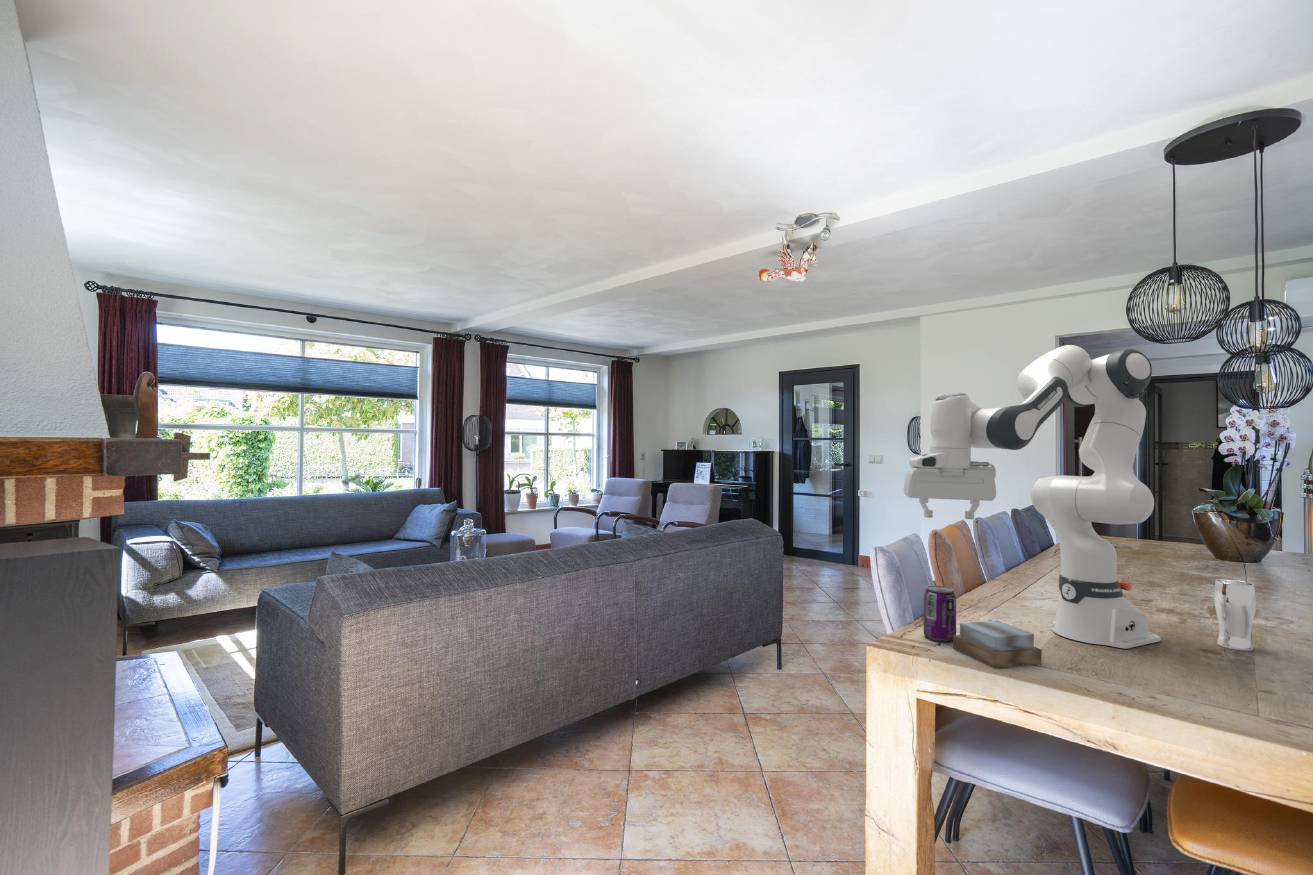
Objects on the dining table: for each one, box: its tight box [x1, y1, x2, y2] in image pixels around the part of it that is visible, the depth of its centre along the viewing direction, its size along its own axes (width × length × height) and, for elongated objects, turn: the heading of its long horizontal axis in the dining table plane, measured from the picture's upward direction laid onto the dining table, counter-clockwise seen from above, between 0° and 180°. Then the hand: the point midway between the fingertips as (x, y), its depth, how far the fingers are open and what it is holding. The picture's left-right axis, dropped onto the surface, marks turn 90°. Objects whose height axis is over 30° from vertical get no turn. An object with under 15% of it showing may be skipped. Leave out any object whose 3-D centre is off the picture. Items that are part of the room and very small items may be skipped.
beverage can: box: [923, 584, 957, 642], centre depth 143 cm, size 7×7×12 cm
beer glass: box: [1213, 578, 1257, 652], centre depth 138 cm, size 7×7×15 cm
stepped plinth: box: [952, 620, 1043, 669], centre depth 131 cm, size 12×12×6 cm
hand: (948, 518), depth 142 cm, fingers open, 8 cm apart
